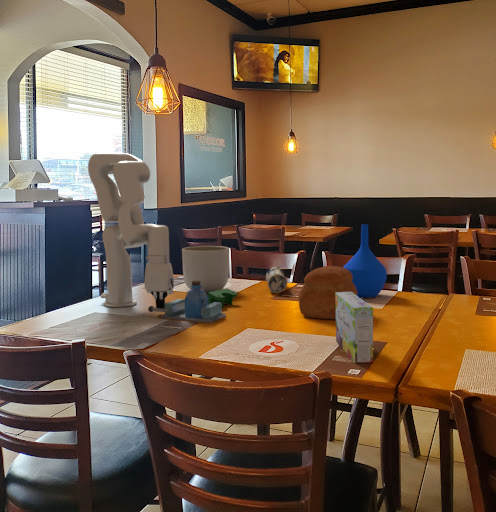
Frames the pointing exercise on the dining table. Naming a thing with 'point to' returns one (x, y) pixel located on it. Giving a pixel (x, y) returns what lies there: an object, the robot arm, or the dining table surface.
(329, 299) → the bread
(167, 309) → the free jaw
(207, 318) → the vise bed
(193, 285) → the perfume bottle
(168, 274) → the robot arm
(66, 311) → the dining table surface
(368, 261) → the vase
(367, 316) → the snack box
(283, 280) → the pencil case
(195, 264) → the planter
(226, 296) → the clamp
